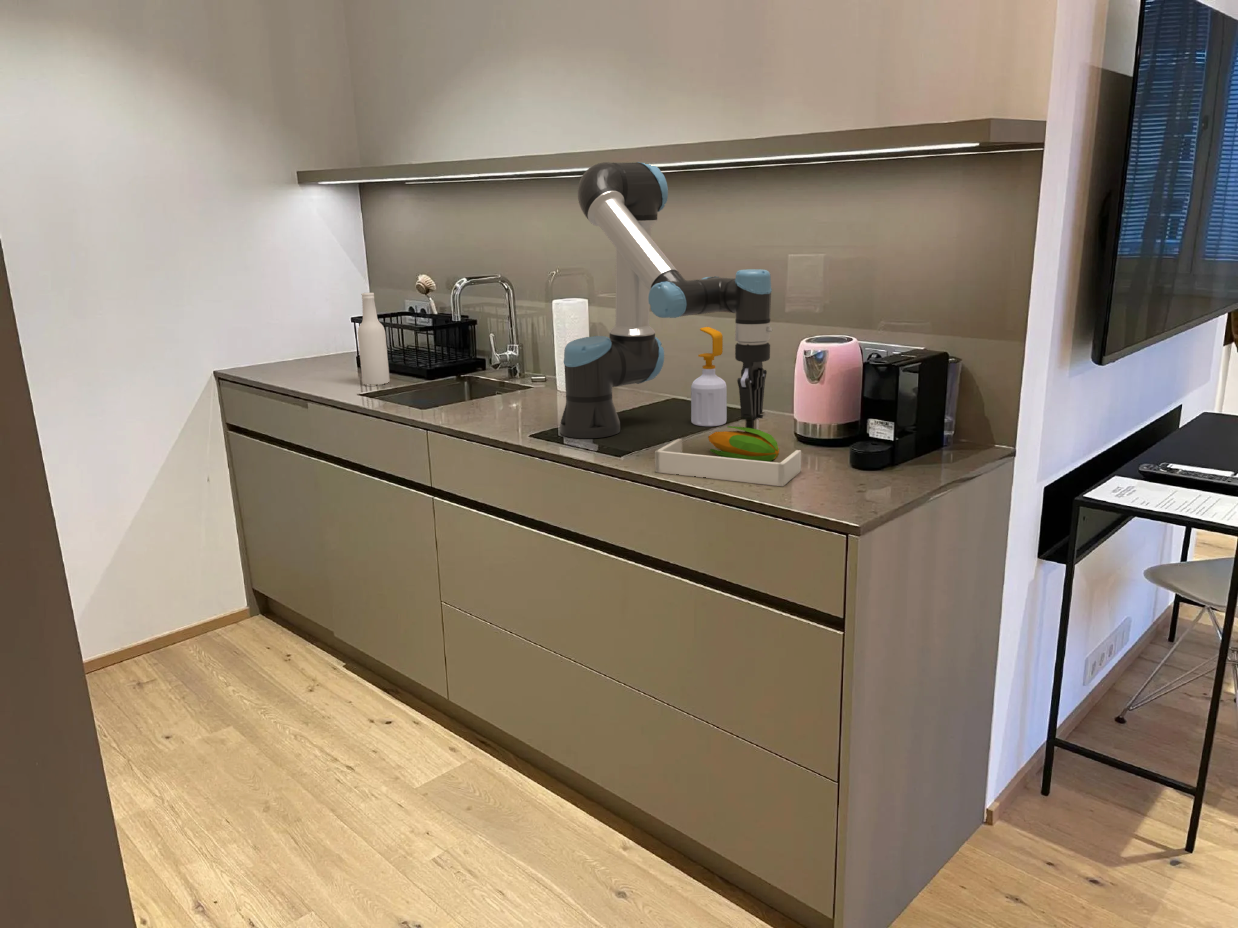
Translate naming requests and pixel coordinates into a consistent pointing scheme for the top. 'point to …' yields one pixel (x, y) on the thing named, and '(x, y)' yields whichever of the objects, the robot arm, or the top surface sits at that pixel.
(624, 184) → the robot arm
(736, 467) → the tray
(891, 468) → the top surface
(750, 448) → the corn
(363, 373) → the alcohol
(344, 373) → the top surface
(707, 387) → the soap bottle
